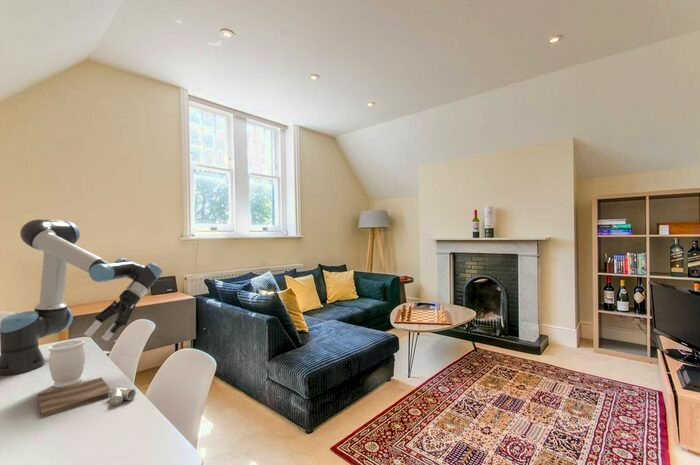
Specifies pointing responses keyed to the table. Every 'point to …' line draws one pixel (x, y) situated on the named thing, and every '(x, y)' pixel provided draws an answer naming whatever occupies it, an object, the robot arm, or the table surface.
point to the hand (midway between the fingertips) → (95, 337)
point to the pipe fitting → (120, 395)
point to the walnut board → (72, 396)
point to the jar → (67, 362)
